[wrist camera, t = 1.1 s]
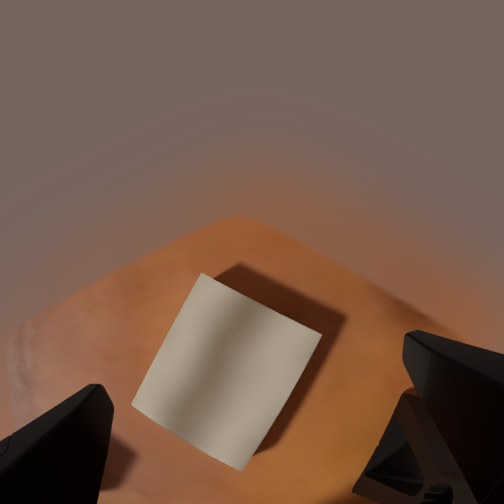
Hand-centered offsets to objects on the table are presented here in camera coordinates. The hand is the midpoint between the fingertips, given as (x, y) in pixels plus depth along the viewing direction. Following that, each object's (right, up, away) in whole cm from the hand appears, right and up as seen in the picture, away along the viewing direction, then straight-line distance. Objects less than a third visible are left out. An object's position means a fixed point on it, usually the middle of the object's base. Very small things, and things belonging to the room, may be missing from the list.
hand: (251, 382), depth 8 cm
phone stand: (+12, -12, +10) cm, 20 cm away
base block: (-2, -5, +13) cm, 14 cm away
